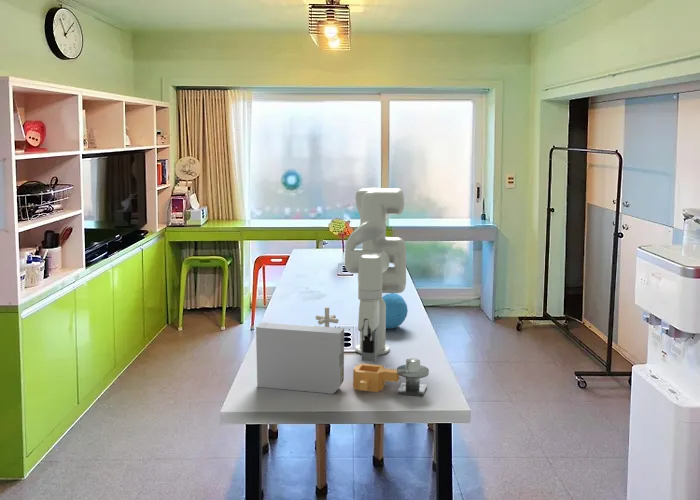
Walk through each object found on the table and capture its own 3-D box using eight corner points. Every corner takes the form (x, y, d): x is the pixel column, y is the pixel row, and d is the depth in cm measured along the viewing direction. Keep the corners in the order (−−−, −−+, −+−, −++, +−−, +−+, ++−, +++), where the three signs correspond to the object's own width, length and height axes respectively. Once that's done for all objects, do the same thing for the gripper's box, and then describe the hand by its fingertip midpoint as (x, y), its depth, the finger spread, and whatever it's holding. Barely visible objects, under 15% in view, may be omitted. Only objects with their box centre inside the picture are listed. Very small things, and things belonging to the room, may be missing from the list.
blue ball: (390, 319, 298) (390, 285, 295) (415, 330, 282) (416, 294, 279) (358, 324, 291) (359, 289, 288) (382, 336, 275) (383, 299, 272)
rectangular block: (363, 357, 222) (364, 327, 221) (377, 358, 221) (377, 328, 220) (361, 360, 219) (361, 329, 218) (374, 361, 218) (375, 331, 217)
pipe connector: (330, 336, 274) (330, 312, 272) (309, 332, 279) (309, 308, 277) (344, 330, 282) (344, 306, 280) (324, 326, 287) (324, 303, 285)
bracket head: (358, 380, 228) (358, 363, 226) (400, 384, 224) (401, 367, 223) (348, 394, 216) (348, 375, 215) (393, 398, 213) (393, 380, 211)
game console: (263, 380, 227) (261, 322, 224) (344, 387, 221) (344, 327, 218) (256, 387, 222) (255, 327, 218) (339, 394, 216) (340, 333, 212)
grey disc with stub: (399, 383, 225) (400, 354, 223) (430, 386, 223) (431, 356, 221) (393, 395, 216) (394, 364, 214) (425, 398, 213) (426, 367, 211)
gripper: (364, 287, 226) (364, 342, 229) (351, 299, 210) (351, 357, 213) (387, 289, 224) (386, 344, 227) (376, 300, 208) (375, 359, 211)
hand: (369, 350), depth 220 cm, fingers closed on rectangular block, 3 cm apart
